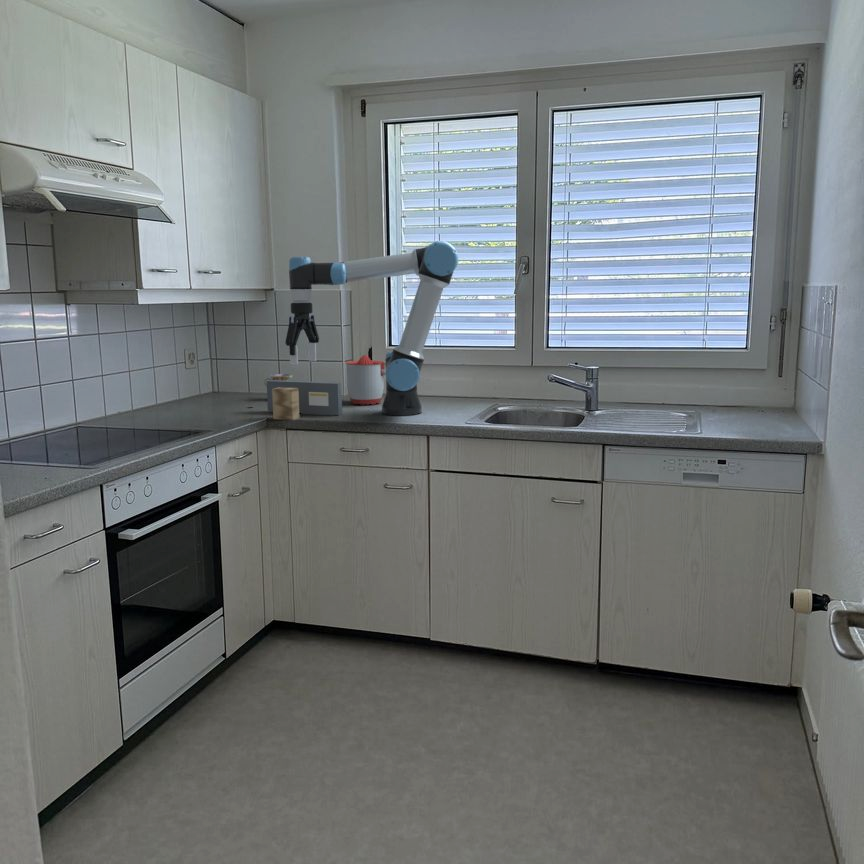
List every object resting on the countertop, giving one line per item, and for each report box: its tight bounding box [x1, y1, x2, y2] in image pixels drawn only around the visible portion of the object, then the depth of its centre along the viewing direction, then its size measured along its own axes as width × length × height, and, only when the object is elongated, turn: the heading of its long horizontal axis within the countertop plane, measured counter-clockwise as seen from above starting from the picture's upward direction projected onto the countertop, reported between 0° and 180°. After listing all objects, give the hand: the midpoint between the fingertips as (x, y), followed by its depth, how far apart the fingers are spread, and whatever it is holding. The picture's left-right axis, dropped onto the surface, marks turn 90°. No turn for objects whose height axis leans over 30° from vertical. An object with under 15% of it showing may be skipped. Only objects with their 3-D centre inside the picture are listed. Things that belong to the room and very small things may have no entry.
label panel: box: [266, 379, 343, 417], centre depth 295 cm, size 30×4×12 cm, turn 71°
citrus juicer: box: [345, 354, 386, 406], centre depth 318 cm, size 16×17×20 cm
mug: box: [264, 373, 294, 388], centre depth 330 cm, size 12×9×11 cm
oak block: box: [272, 387, 301, 421], centre depth 285 cm, size 8×5×11 cm, turn 71°
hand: (303, 362), depth 277 cm, fingers open, 13 cm apart
